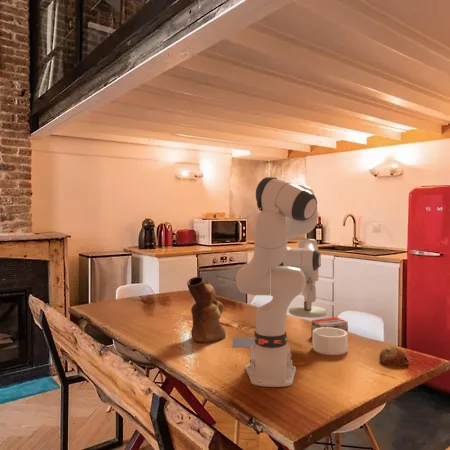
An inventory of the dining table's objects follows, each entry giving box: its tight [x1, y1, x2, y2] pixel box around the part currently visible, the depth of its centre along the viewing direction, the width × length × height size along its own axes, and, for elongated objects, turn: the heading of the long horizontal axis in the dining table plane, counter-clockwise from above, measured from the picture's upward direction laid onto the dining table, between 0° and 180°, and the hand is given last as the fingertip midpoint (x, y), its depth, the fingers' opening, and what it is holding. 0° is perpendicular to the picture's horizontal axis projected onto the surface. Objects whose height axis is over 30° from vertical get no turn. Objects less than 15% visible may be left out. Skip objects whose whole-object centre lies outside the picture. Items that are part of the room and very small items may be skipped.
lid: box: [288, 300, 328, 319], centre depth 176 cm, size 16×16×5 cm
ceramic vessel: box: [186, 276, 226, 344], centre depth 186 cm, size 16×22×30 cm
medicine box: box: [310, 316, 349, 338], centre depth 191 cm, size 15×8×8 cm, turn 112°
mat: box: [231, 336, 255, 349], centre depth 183 cm, size 14×14×1 cm
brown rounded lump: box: [378, 345, 410, 367], centre depth 160 cm, size 10×10×8 cm
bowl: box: [311, 327, 349, 356], centre depth 174 cm, size 14×14×8 cm
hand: (307, 307), depth 176 cm, fingers closed on lid, 3 cm apart
